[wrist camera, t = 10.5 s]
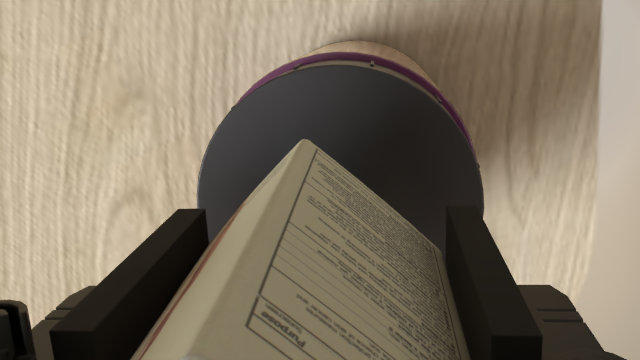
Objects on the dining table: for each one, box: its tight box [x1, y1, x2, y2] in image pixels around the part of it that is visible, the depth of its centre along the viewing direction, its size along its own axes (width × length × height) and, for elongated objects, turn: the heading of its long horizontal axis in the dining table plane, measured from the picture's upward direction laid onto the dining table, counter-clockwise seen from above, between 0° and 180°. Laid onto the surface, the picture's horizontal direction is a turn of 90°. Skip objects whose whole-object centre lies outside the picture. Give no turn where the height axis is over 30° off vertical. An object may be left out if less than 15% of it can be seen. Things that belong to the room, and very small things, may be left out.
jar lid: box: [197, 59, 484, 263], centre depth 21 cm, size 10×10×2 cm
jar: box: [237, 41, 477, 161], centre depth 26 cm, size 10×10×13 cm
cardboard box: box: [130, 139, 471, 360], centre depth 11 cm, size 5×4×10 cm
